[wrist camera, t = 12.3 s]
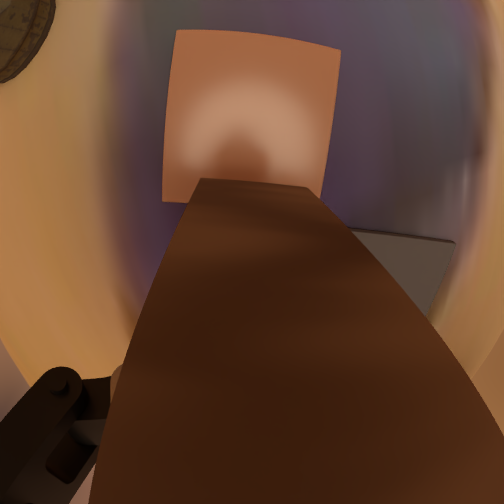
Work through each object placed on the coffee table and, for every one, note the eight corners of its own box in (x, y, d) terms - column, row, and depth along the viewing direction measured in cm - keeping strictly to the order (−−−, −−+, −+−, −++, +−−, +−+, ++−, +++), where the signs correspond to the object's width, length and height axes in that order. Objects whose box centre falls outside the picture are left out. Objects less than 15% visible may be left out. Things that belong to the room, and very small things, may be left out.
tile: (306, 202, 18) (327, 57, 14) (316, 213, 16) (340, 50, 12) (170, 191, 17) (183, 41, 13) (162, 201, 15) (176, 30, 11)
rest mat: (452, 241, 20) (456, 244, 20) (399, 355, 26) (401, 358, 26) (338, 226, 19) (342, 230, 18) (299, 364, 25) (300, 368, 25)
